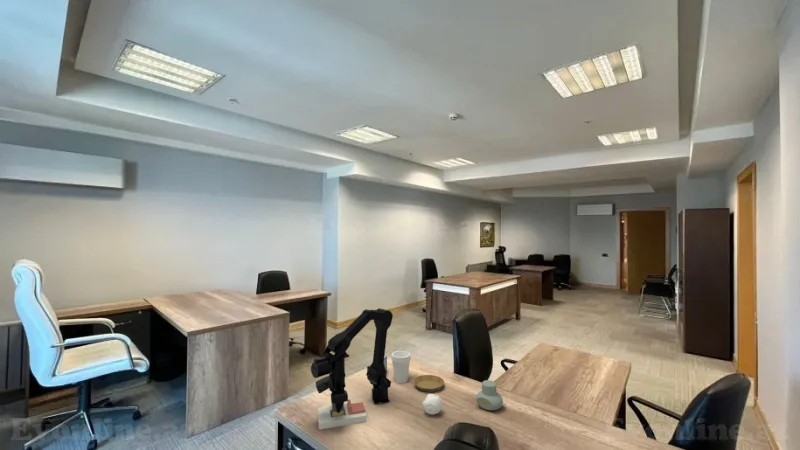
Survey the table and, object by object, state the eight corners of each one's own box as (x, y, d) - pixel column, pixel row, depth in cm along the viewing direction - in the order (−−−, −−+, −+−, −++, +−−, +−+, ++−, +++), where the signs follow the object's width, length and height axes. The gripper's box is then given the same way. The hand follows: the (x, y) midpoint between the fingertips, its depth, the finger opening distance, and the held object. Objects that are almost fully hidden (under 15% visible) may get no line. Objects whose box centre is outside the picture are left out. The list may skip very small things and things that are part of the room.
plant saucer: (422, 377, 171) (422, 372, 171) (449, 384, 163) (449, 379, 163) (407, 389, 159) (407, 383, 159) (435, 397, 151) (435, 391, 151)
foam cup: (396, 386, 161) (396, 359, 162) (388, 378, 169) (388, 353, 170) (414, 381, 166) (413, 355, 166) (405, 374, 174) (404, 349, 174)
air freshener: (506, 407, 141) (505, 383, 141) (496, 415, 135) (496, 390, 135) (482, 399, 148) (482, 376, 148) (473, 406, 142) (472, 382, 142)
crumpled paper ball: (431, 406, 142) (431, 387, 143) (445, 413, 137) (445, 393, 137) (418, 413, 137) (418, 394, 137) (433, 420, 131) (433, 400, 131)
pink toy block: (362, 403, 140) (362, 397, 140) (365, 411, 133) (365, 404, 133) (347, 406, 138) (347, 399, 138) (349, 414, 132) (349, 407, 132)
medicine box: (383, 377, 171) (383, 360, 171) (375, 377, 172) (374, 360, 172) (387, 371, 178) (387, 355, 179) (379, 371, 179) (379, 354, 180)
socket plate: (361, 407, 142) (361, 401, 142) (366, 421, 131) (366, 415, 131) (318, 414, 137) (318, 408, 137) (318, 429, 126) (318, 422, 126)
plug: (342, 411, 136) (342, 393, 137) (343, 416, 132) (343, 398, 132) (331, 412, 135) (331, 395, 135) (332, 418, 131) (332, 400, 131)
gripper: (316, 363, 141) (316, 401, 141) (317, 382, 123) (317, 426, 123) (342, 360, 144) (343, 397, 144) (347, 379, 126) (348, 421, 126)
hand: (337, 409), depth 134 cm, fingers closed on plug, 4 cm apart
